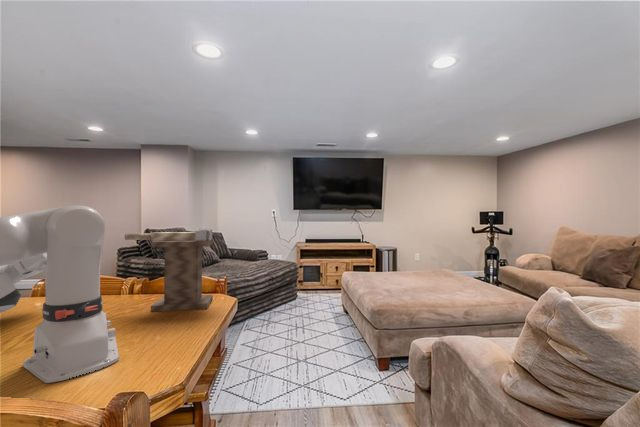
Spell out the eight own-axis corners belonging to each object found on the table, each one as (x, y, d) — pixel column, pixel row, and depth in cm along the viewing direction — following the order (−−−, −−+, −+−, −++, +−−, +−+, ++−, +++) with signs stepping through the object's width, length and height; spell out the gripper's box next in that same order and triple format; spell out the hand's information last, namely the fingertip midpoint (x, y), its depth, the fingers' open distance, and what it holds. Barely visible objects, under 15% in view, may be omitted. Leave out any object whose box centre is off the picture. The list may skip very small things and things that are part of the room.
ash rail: (123, 241, 111) (123, 233, 111) (128, 240, 115) (128, 232, 115) (195, 240, 116) (195, 232, 116) (197, 239, 120) (197, 232, 120)
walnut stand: (150, 311, 109) (151, 241, 109) (161, 301, 121) (162, 238, 121) (207, 308, 113) (207, 241, 113) (212, 299, 125) (213, 238, 125)
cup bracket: (195, 240, 114) (195, 230, 114) (199, 239, 122) (199, 229, 122) (208, 240, 115) (208, 230, 115) (212, 239, 123) (212, 229, 123)
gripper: (55, 264, 116) (92, 248, 119) (16, 275, 96) (61, 255, 99) (47, 250, 115) (84, 234, 118) (5, 258, 95) (51, 239, 98)
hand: (73, 244), depth 109 cm, fingers open, 8 cm apart
